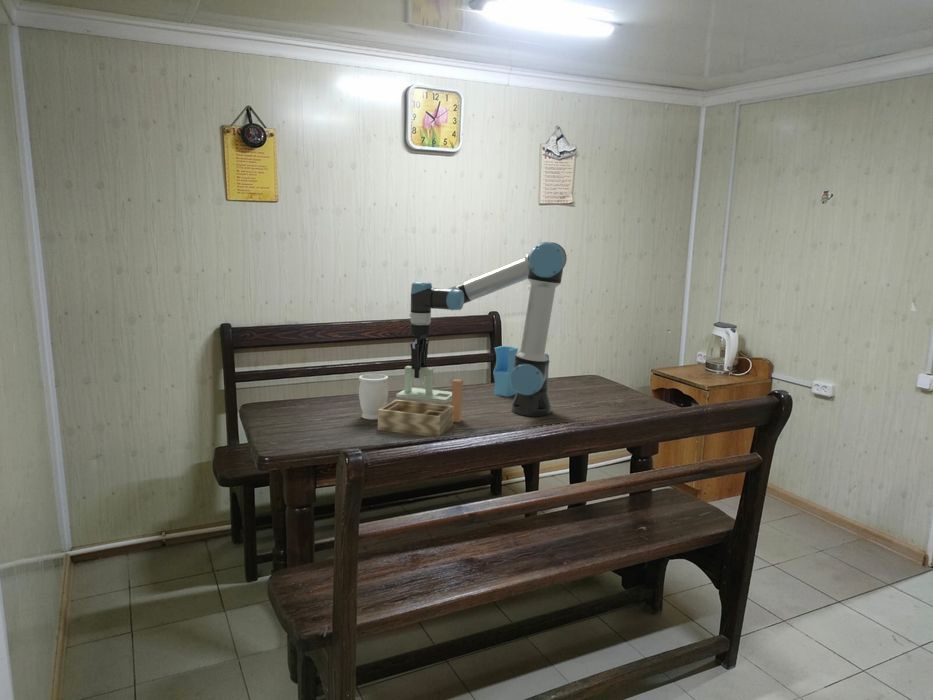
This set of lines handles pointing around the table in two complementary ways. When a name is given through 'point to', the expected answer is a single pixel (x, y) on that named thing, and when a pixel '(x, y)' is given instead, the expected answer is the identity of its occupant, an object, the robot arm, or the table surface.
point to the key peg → (457, 399)
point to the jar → (372, 394)
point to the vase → (504, 370)
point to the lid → (419, 392)
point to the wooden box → (415, 418)
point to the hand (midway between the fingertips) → (418, 385)
